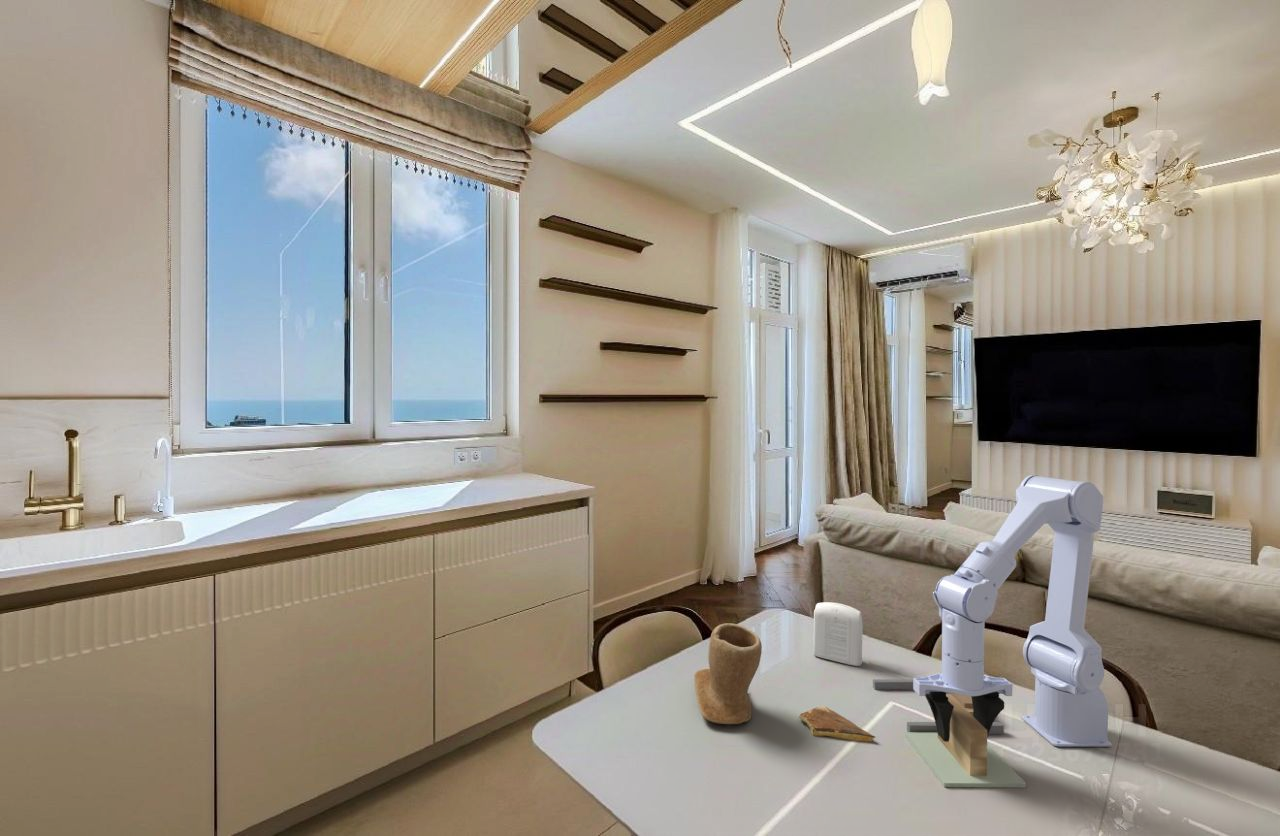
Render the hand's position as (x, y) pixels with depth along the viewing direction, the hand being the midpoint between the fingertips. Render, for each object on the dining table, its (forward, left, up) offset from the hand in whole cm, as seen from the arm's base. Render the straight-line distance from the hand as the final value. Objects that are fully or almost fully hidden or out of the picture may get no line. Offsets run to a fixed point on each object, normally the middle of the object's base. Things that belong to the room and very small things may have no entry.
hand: (961, 737), depth 84 cm
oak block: (0, 0, -3) cm, 3 cm away
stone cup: (+35, -15, -4) cm, 38 cm away
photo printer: (+8, -33, -4) cm, 34 cm away
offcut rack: (-3, -14, -4) cm, 15 cm away
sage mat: (0, 0, -4) cm, 4 cm away
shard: (+17, -9, -4) cm, 20 cm away
